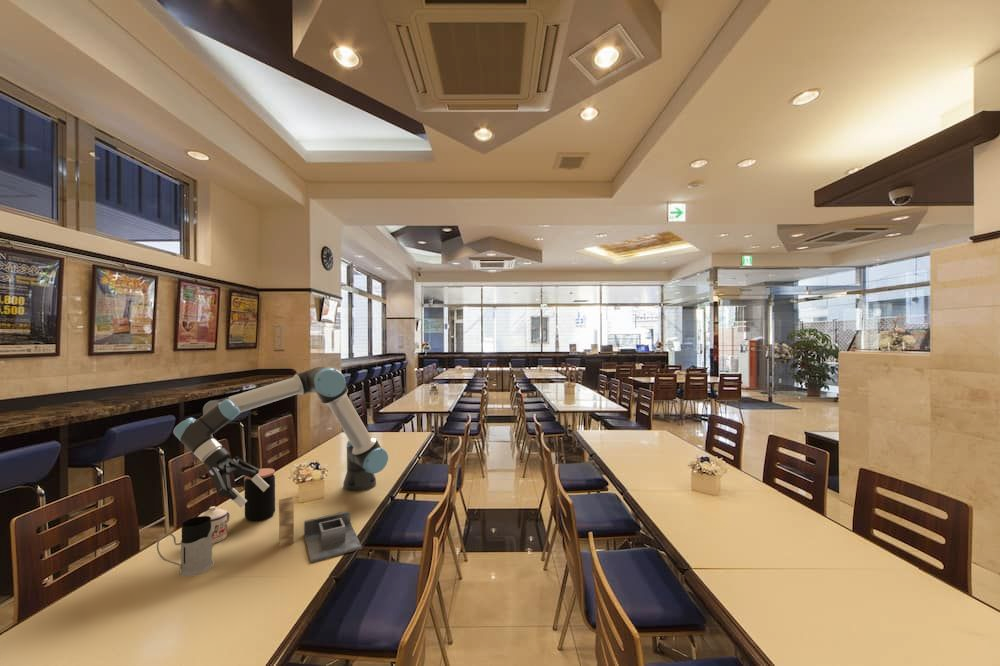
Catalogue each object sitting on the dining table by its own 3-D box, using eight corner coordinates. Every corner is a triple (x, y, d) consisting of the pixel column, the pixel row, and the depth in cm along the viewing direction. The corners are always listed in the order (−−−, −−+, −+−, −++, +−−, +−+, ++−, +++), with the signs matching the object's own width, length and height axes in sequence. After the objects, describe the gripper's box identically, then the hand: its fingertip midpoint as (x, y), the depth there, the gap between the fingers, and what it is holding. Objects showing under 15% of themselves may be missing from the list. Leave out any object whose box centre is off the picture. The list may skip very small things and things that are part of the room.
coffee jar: (280, 511, 170) (280, 468, 170) (263, 523, 159) (263, 477, 159) (257, 510, 171) (256, 467, 171) (238, 522, 160) (238, 476, 160)
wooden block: (293, 538, 147) (292, 496, 147) (293, 543, 144) (293, 501, 144) (279, 541, 145) (278, 499, 145) (279, 546, 141) (279, 503, 141)
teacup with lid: (213, 546, 142) (213, 513, 142) (190, 545, 143) (190, 512, 143) (239, 529, 154) (239, 499, 154) (218, 528, 155) (217, 498, 155)
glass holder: (217, 567, 129) (217, 520, 129) (160, 589, 118) (160, 537, 118) (208, 557, 135) (208, 512, 135) (153, 577, 124) (153, 528, 124)
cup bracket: (349, 523, 158) (349, 508, 158) (361, 549, 139) (361, 531, 139) (304, 534, 150) (304, 518, 150) (310, 562, 131) (310, 544, 131)
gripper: (228, 451, 157) (267, 490, 157) (178, 474, 132) (225, 519, 132) (242, 438, 157) (281, 476, 157) (194, 457, 132) (241, 503, 132)
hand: (255, 496), depth 144 cm, fingers open, 13 cm apart
